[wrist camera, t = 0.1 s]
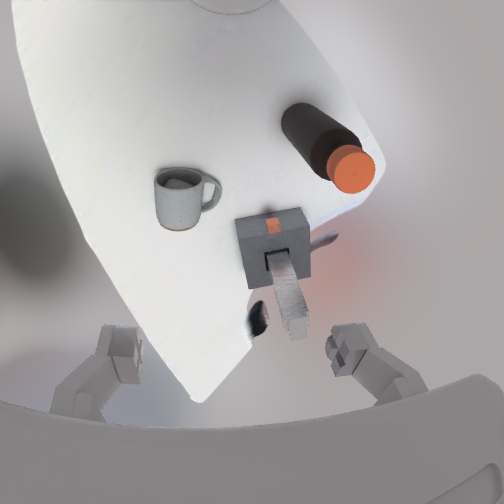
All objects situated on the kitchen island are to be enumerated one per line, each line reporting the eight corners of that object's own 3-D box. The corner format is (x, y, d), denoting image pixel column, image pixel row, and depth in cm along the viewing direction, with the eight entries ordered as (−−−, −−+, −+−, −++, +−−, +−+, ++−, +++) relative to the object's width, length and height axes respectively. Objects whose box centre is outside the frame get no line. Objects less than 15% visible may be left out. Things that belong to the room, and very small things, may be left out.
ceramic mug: (159, 210, 51) (154, 236, 45) (157, 167, 46) (151, 188, 40) (219, 210, 53) (222, 235, 47) (222, 167, 48) (226, 188, 42)
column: (259, 230, 57) (285, 321, 40) (279, 226, 57) (311, 315, 40) (263, 251, 60) (287, 341, 44) (281, 248, 60) (311, 336, 44)
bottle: (282, 144, 47) (324, 205, 31) (279, 104, 43) (325, 145, 27) (321, 140, 47) (379, 198, 32) (320, 101, 43) (385, 141, 27)
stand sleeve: (233, 212, 54) (236, 232, 49) (299, 199, 54) (309, 218, 49) (244, 268, 62) (248, 290, 57) (302, 257, 62) (310, 277, 58)
